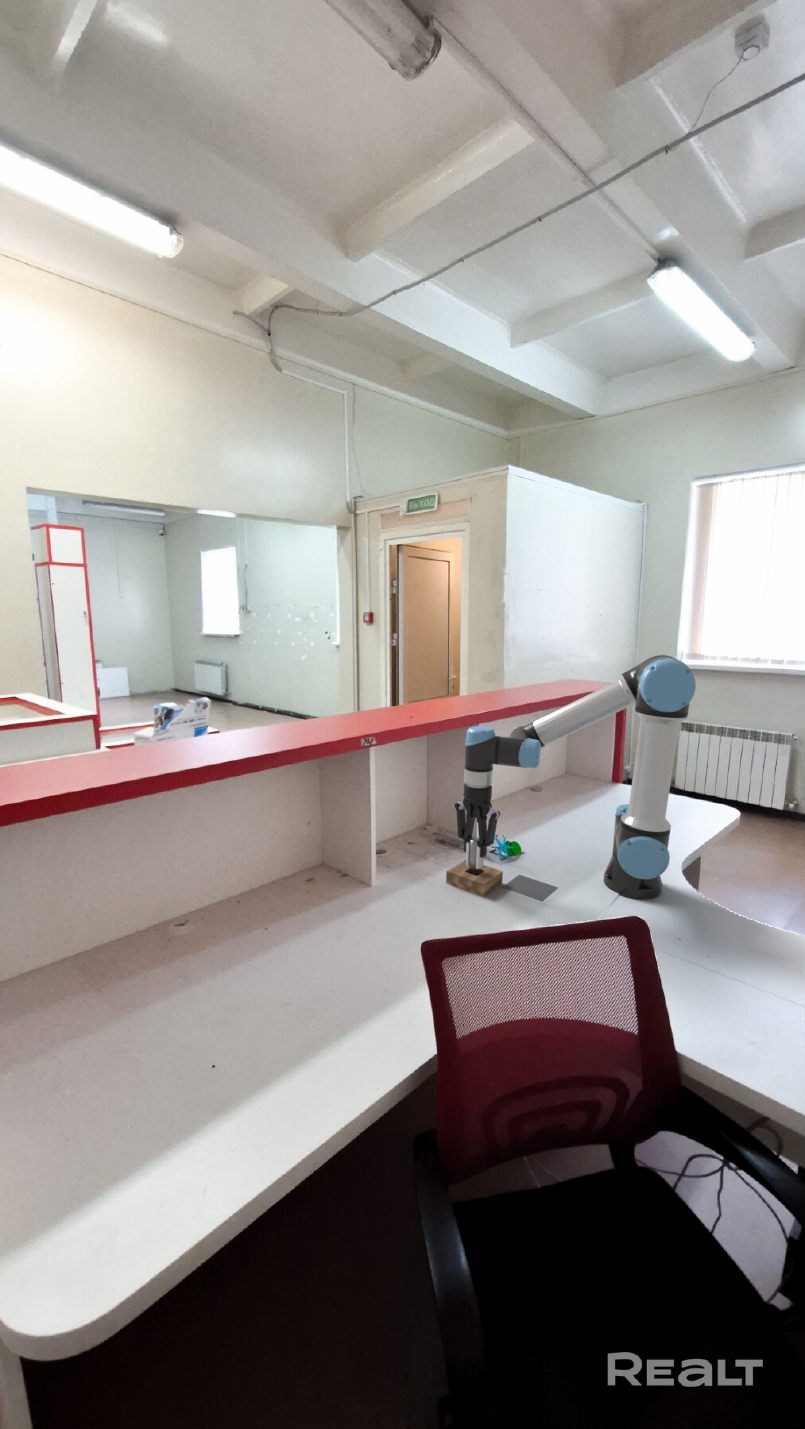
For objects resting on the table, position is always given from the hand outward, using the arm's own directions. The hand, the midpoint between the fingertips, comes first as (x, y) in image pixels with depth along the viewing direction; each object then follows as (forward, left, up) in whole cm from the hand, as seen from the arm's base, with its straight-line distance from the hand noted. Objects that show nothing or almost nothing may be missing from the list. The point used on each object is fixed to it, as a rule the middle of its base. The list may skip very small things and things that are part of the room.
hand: (474, 865), depth 161 cm
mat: (-13, -8, -6) cm, 16 cm away
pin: (0, 0, -4) cm, 4 cm away
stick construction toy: (+4, -23, -6) cm, 24 cm away
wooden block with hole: (0, 0, -6) cm, 6 cm away
